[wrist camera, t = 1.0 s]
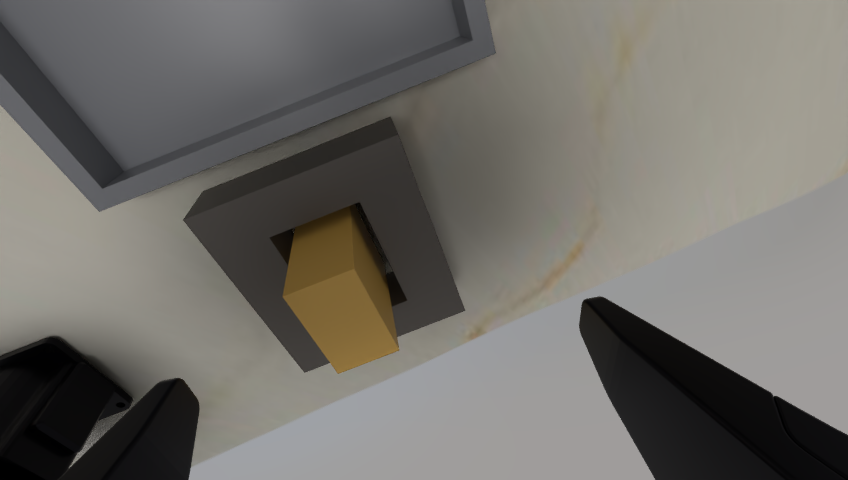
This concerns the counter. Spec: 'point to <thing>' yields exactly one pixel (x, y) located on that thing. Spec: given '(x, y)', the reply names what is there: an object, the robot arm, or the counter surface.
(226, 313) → the counter surface
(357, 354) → the block
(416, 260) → the gray square frame
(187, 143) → the parts tray
